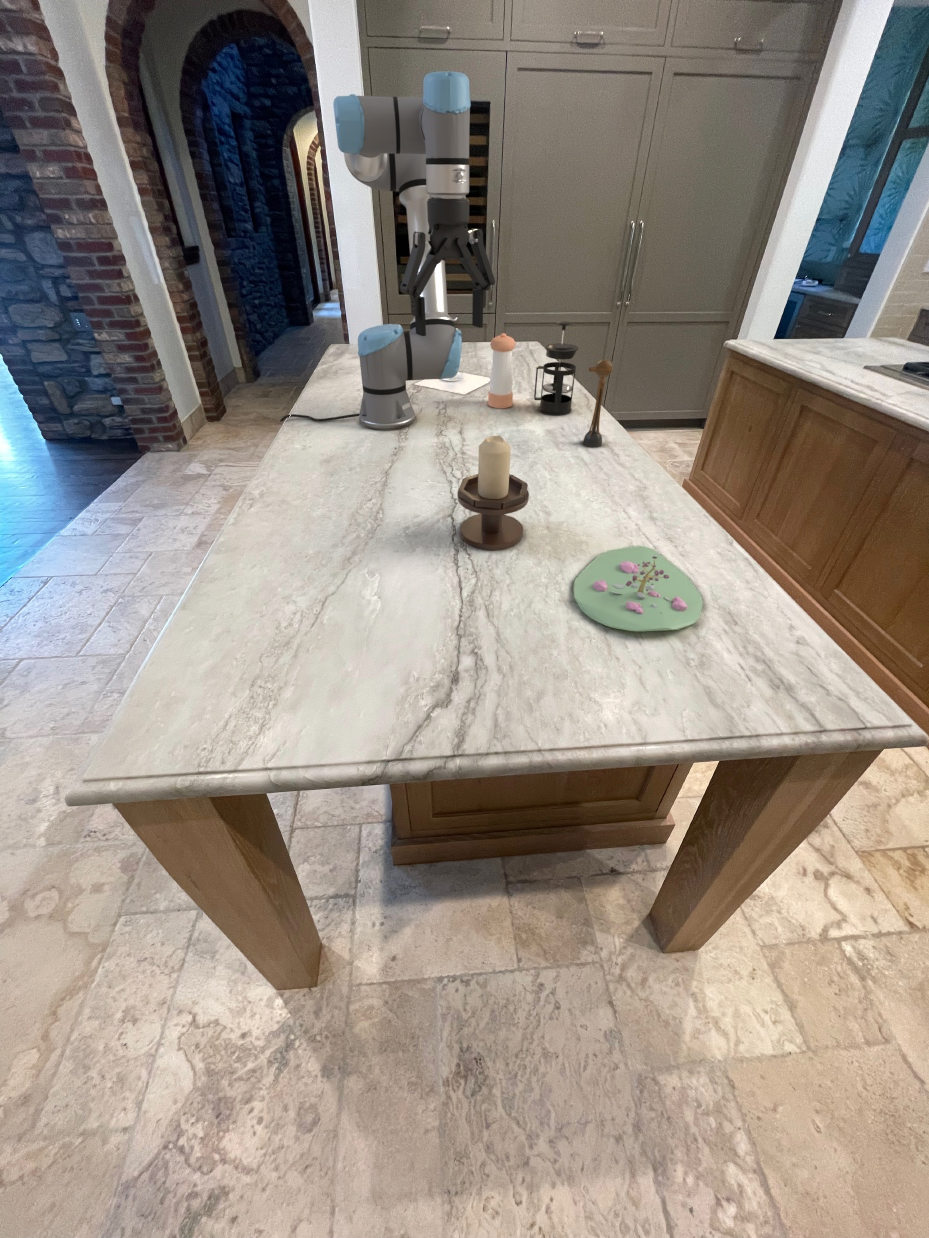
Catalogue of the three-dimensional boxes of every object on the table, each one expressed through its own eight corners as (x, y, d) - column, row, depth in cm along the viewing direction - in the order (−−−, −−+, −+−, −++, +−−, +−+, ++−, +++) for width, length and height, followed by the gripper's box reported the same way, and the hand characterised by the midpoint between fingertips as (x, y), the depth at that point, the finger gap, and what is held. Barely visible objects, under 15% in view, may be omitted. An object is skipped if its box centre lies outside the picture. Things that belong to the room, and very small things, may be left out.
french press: (571, 405, 160) (582, 318, 145) (575, 415, 153) (586, 325, 138) (532, 404, 161) (539, 318, 146) (533, 415, 153) (541, 325, 139)
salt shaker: (512, 400, 163) (516, 331, 151) (511, 408, 157) (516, 336, 145) (488, 400, 164) (491, 330, 151) (487, 407, 158) (489, 336, 146)
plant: (565, 546, 99) (572, 501, 93) (679, 550, 98) (692, 506, 92) (578, 635, 80) (587, 586, 74) (719, 641, 79) (739, 593, 73)
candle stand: (451, 547, 99) (450, 499, 92) (464, 514, 108) (464, 468, 102) (521, 555, 97) (525, 506, 90) (528, 520, 107) (532, 474, 100)
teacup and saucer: (469, 378, 181) (469, 365, 178) (457, 384, 176) (456, 371, 173) (448, 374, 185) (448, 361, 182) (435, 380, 179) (434, 367, 177)
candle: (505, 501, 95) (508, 446, 88) (475, 498, 96) (476, 443, 89) (510, 487, 99) (513, 433, 92) (480, 484, 100) (482, 431, 93)
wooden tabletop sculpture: (581, 447, 135) (593, 362, 122) (576, 440, 139) (588, 357, 126) (604, 447, 135) (618, 362, 123) (599, 440, 139) (612, 356, 126)
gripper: (395, 198, 87) (404, 342, 100) (516, 196, 98) (510, 326, 111) (374, 197, 92) (386, 334, 105) (492, 195, 102) (488, 320, 116)
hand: (449, 330), depth 108 cm, fingers open, 13 cm apart
